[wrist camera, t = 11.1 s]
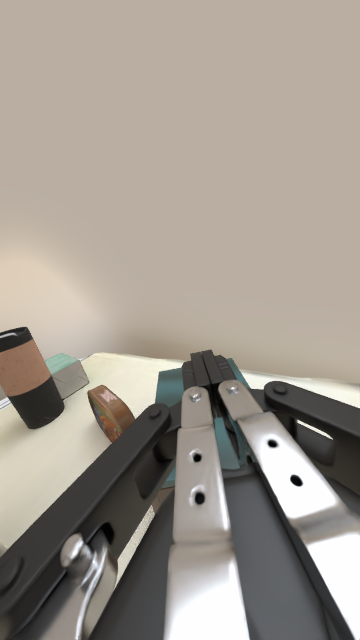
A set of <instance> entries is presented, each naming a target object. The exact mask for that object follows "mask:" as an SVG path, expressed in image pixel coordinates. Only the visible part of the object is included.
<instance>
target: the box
mask: <svg viewBox="0 0 360 640" xmlns="http://www.w3.org/2000/svg"><path fill="white" fill-rule="evenodd" d="M45 363H46V365H47V367H48V369H49V371H50V373H51V375H52V377H53V380H54V382H55V384H56V387H57V389H58V391H59V393H60V396H61V398H62V399H64V398H66V397H68V396H69V395H71V394H73V393H74V392H76V391H77V390H79V389H80V388H82V387H83V386H85V385H86V384H88V383H89V380H88V378H87V376H86V373H85V371H84V369H83V367H82V365H81V362H80V360H77V359H76V358H73V357H71V356H68V355H65V354H58V355H56V356H53V357H51V358H49V359H47V360H45Z"/></svg>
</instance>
